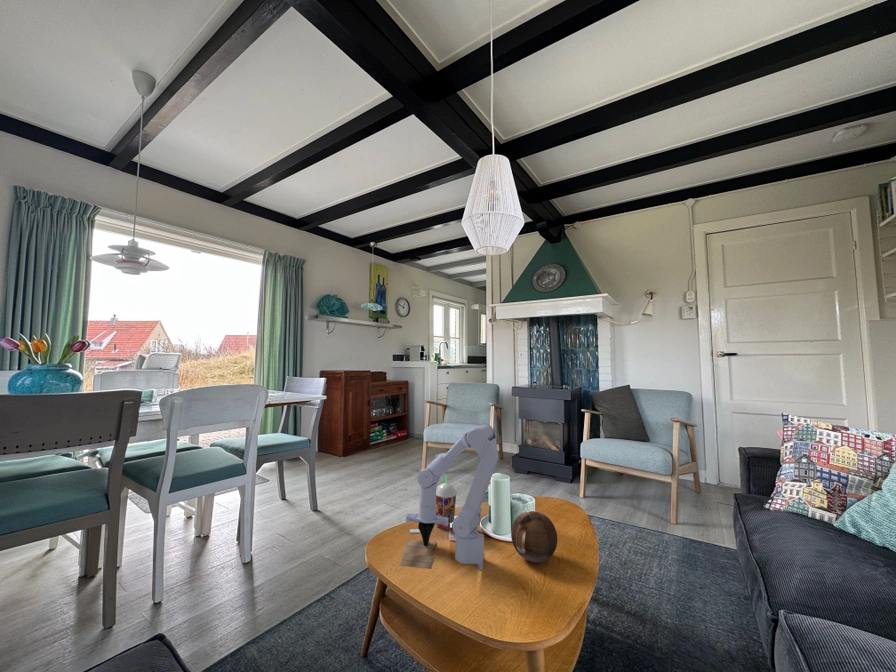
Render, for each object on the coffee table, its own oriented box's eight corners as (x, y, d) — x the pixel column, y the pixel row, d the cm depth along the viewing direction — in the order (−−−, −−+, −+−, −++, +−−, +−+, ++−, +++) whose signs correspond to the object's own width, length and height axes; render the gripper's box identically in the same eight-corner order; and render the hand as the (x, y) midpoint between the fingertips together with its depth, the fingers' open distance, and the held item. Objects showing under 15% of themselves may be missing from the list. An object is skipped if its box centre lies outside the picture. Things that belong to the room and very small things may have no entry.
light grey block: (420, 534, 132) (420, 528, 133) (420, 537, 130) (421, 531, 130) (409, 534, 132) (409, 529, 132) (410, 538, 129) (410, 532, 130)
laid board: (434, 561, 114) (434, 556, 114) (431, 573, 108) (431, 568, 108) (404, 558, 116) (404, 553, 116) (399, 570, 109) (399, 565, 109)
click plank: (436, 545, 123) (436, 541, 123) (432, 559, 115) (432, 555, 115) (408, 542, 124) (408, 539, 124) (402, 556, 116) (402, 552, 116)
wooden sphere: (539, 544, 127) (540, 501, 128) (567, 567, 113) (567, 519, 114) (502, 551, 122) (503, 506, 123) (526, 576, 108) (527, 525, 109)
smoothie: (455, 534, 132) (457, 480, 134) (433, 534, 132) (434, 479, 134) (455, 524, 141) (456, 473, 142) (434, 524, 141) (436, 472, 142)
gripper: (449, 501, 125) (448, 540, 124) (410, 497, 127) (408, 536, 126) (447, 509, 118) (445, 551, 117) (405, 505, 120) (403, 546, 119)
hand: (426, 544), depth 121 cm, fingers closed, pressing on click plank
